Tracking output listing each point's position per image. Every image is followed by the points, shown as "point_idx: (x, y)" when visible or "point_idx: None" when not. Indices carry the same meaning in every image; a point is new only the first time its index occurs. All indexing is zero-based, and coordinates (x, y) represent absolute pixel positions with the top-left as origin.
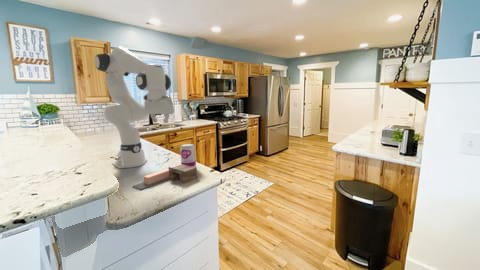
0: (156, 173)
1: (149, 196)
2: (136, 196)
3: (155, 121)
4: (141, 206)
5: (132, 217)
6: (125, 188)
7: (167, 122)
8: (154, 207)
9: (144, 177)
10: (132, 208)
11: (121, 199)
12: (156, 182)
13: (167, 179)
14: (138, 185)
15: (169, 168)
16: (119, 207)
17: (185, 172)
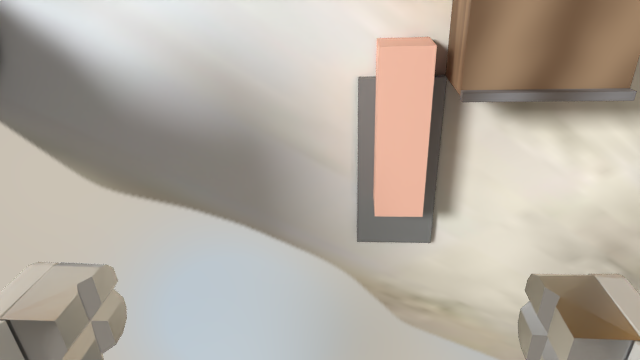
0: (404, 153)
1: (527, 254)
2: (471, 277)
3: (103, 307)
4: None
5: None
6: (341, 258)
7: (612, 287)
8: None
9: (384, 213)
10: None
11: (439, 313)
12: (429, 160)
13: (444, 92)
14: (378, 226)
15: (473, 100)
16: (495, 342)
17: (629, 69)
